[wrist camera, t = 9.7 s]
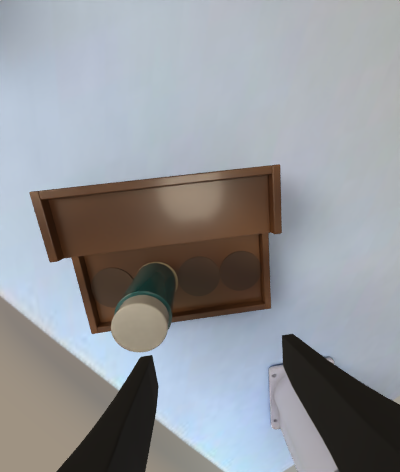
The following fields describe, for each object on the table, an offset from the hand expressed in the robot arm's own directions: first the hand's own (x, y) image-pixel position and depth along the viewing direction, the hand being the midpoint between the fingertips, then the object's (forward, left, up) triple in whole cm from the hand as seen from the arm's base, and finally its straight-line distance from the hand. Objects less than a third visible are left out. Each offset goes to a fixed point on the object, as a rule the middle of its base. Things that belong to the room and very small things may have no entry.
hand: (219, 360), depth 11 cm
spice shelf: (+4, +3, -10) cm, 11 cm away
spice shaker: (+1, +5, -8) cm, 9 cm away
